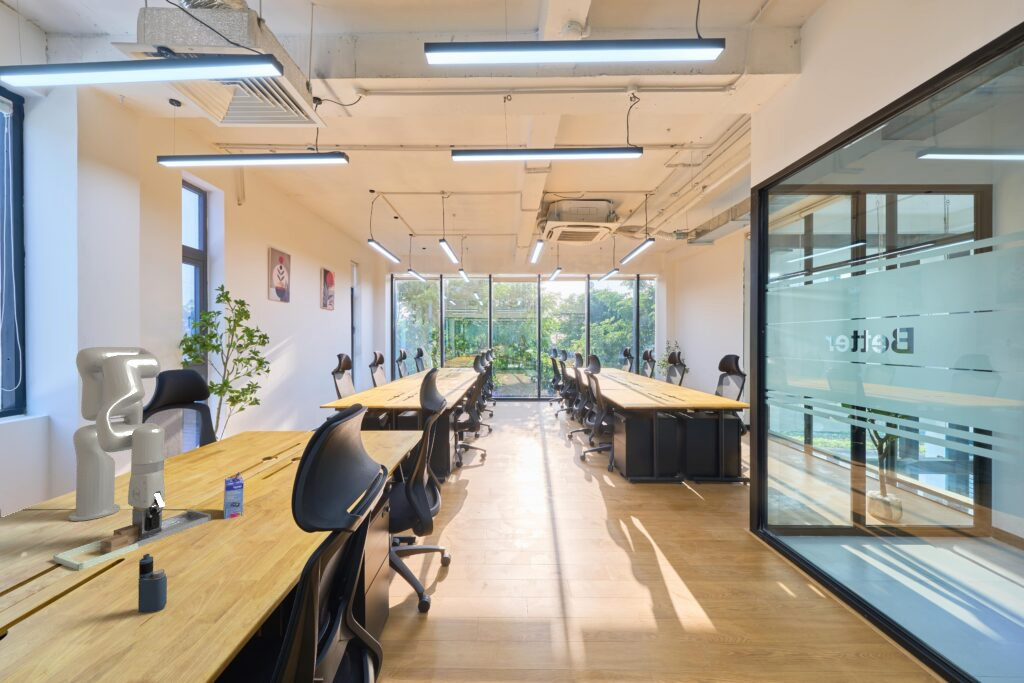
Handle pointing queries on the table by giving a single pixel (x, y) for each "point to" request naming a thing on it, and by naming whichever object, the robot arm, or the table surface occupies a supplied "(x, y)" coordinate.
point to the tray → (77, 565)
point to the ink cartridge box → (233, 497)
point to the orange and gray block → (144, 522)
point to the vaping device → (151, 586)
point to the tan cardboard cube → (128, 533)
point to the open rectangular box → (176, 525)
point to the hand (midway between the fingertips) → (146, 527)
